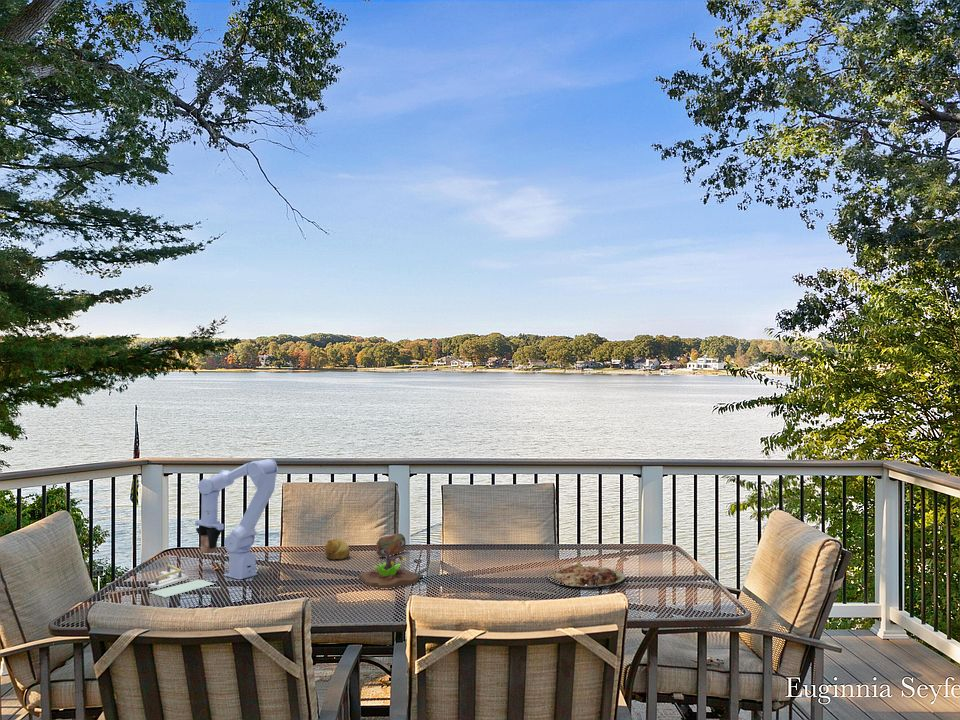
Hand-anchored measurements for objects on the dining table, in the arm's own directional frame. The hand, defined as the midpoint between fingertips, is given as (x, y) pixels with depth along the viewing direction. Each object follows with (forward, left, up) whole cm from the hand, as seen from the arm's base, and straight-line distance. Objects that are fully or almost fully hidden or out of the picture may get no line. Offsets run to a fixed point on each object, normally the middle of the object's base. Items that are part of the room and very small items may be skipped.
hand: (208, 547), depth 266 cm
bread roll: (-23, -43, -9) cm, 50 cm away
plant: (-63, -29, -10) cm, 70 cm away
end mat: (-13, +19, -9) cm, 25 cm away
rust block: (0, 0, -2) cm, 2 cm away
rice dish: (-120, -72, -10) cm, 140 cm away
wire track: (+2, +17, -9) cm, 19 cm away
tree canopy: (-39, -58, -9) cm, 70 cm away
